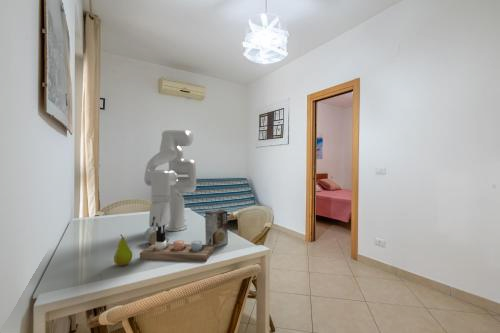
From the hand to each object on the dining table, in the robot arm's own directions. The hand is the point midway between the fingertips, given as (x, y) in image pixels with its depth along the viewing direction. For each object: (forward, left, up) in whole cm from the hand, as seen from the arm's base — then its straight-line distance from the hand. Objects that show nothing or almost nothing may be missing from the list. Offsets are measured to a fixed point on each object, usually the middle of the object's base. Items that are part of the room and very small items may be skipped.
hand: (160, 241), depth 99 cm
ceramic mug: (-14, -9, -6) cm, 18 cm away
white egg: (0, 0, -4) cm, 4 cm away
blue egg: (0, +16, -4) cm, 16 cm away
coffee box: (-14, +21, -6) cm, 26 cm away
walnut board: (0, +8, -5) cm, 10 cm away
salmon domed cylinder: (0, +8, -4) cm, 9 cm away
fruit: (+12, -9, -6) cm, 16 cm away
